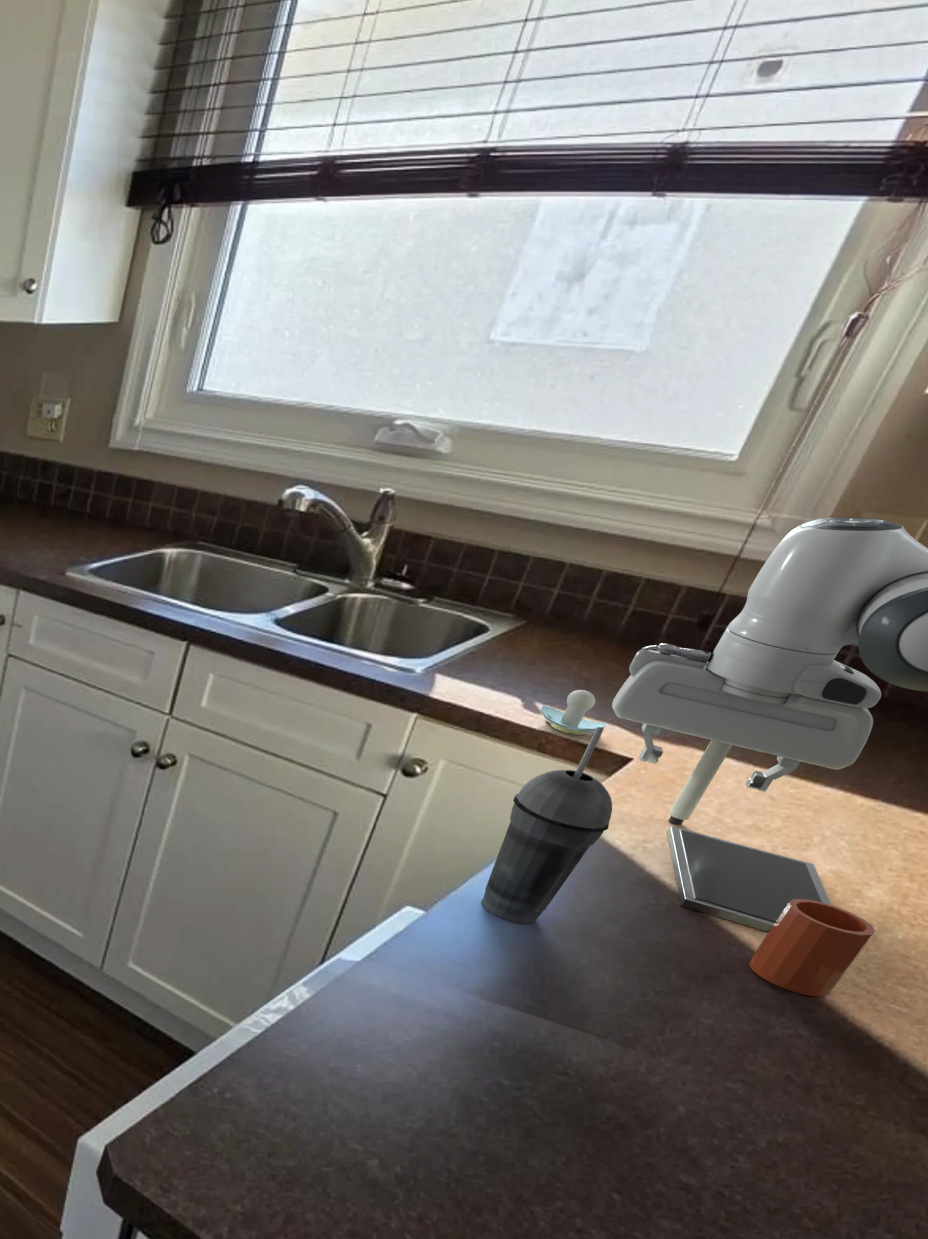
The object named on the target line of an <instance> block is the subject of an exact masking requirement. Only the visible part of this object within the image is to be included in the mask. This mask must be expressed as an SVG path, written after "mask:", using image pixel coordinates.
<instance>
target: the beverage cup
mask: <svg viewBox="0 0 928 1239" xmlns="http://www.w3.org/2000/svg"><path fill="white" fill-rule="evenodd" d="M604 729H605V727H604V728H602V727H597V728H596V730H595V732H594V734H592V736H591V738H590V741H589V743H588V745H587V747H586V749H585V751H584V753H583V755H582V757H581V759H580V761H579V762H578V765H577V767H576V769H575V770H574V769H573V770H572V769H557V770H550V771H547V772H544V773H542V774H539V775H537V776H535V777H533V778H532V779H530V780H528V781H527V782H526V783H525V784H523V786H522V787H521V789H520V790H519V792H518V793H516V794H515V795H514V797H513V805H512V808H511V813H510V816H509V821H510V822H509V824H508V826H507V830H506V832H505V835H504V838H503V841H502V843H501V845H500V849H499V852H498V854H497V856H496V859H495V862H494V865H493V867H492V870H491V873H490V875H489V878H488V881H487V884H486V887H485V890H484V894H483V897H482V899H481V905H482V907H483V908H485V910H487V911H488V912H490V914H492V915H494V916H496V917H498V918H501V919H503V920H506V921H509V922H512V923H515V924H516V923H517V924H522V925H530V924H534V923H536V922H537V920H538V919H539V917H540V916H542V913H543V912H544V911H546V909H547V908H548V906H549V905H550V904H551V902H552V901H553V899H554V898H555V897H556V895H557V893H558V892H559V891H560V889H561V888H562V887H563V885H564V884H565V882H566V881H567V880H568V878H569V876H570V875H571V874H572V872H573V871H574V870H575V868H576V867H577V865H578V864H579V862H580V861H581V860H582V858H583V857H584V855H585V854H586V853H587V851H588V850H589V848H590V847H592V846H593V845H595V843H596V842H597V841H598V840H599V839H600V837H602V836H603V833H604V832H605V831H607V830H609V827H610V826H609V825H610V821H611V818H612V812H613V801H612V797H611V795H610V793H609V791H608V790H607V789H606V787H605V786H604V785H603V783H601V782H600V781H599V780H598V779H597V778H595V777H593V776H592V775H589V773H588V774H587V773H585V772H584V771H585V769H586V766H587V765H588V762H589V760H590V759H591V756H592V755H593V752H594V750H595V748H596V747H597V744H598V742H599V740H600V738H601V736H602V734H603V731H604Z"/></svg>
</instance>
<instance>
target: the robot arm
mask: <svg viewBox="0 0 928 1239" xmlns="http://www.w3.org/2000/svg"><path fill="white" fill-rule="evenodd" d="M724 630H725V631H724V632H723V634H722V635H721V637H720V639H719V641H718V643H716V646H715V648H714V649H713V652H709V651H706V650H705V651H704V650H701V649H700V650H699V649H694V648H686V647H680V646H676V645H674V644H671V643H659V645H648V646H645V647H642V648H641V649H639V650H638V651H637V652H636V653H635V655H634V657H633V658H632V660H631V662H630V664H629V668H628V670H629V674H630V675H629V676H628V678H627V679H626V680H625V682H623V684H622V686H621V687H620V688H619V690H618V691H617V693H616V695H615V696H614V698H613V700H612V703H611V707H612V711H613V712H614V714H615V715H616V717H617V718H619V719H623V720H628V721H631V722H635V723H639V724H642V726H641V730H642V736H643V740H644V747H643V749H642V751H641V752H640V754H639V757H638V758H639V761H641V762H644V763H648V764H653V765H657V764H658V762H659V758H661V757H662V755H663V754H664V750H663V747H662V746H659V745H655V744H654V740H653V736H656V737H658V736H659V735H660V733H661V732H662V730H663V729H664V730H668V731H673V732H676V733H681V734H685V735H690V736H694V737H698V738H702V739H707V740H710V741H711V740H714V741H718V742H722V743H727V744H731V745H732V746H735V747H739V748H744V749H748V750H752V751H756V752H761V753H765V754H769V755H773V756H777V757H776V760H777V763H778V764H775V765H774V766H772V767H770V768H768V769H766V770H764V771H760V770H755V769H753V770H752V772H751V774H750V777H749V778H747V780H746V782H745V786H746V789H751V790H755V791H758V792H761V793H766V792H767V790H768V789H769V787H770V785H771V784H772V782H773V781H774V780H775V781H776V780H778V779H779V778H782V777H784V776H786V775H788V774H790V773H792V772H795V771H796V770H797V769H798V767H799V766H800V764H801V763H806V764H810V765H815V766H819V767H823V768H826V769H832V770H837V771H838V770H841V769H844V768H846V767H850V766H852V765H853V764H854V763H855V762H856V761H857V759H858V758H859V756H860V755H861V753H862V751H863V749H864V747H865V746H866V743H867V741H868V740H869V736H870V735H871V732H872V729H873V725H874V718H873V715H872V713H871V712H870V710H869V709H872V708H873V707H874V706H876V705H877V704H878V703H879V701H880V700H881V698H882V691H881V689H880V686H878V685H877V683H876V682H875V681H874V680H873V679H871V677H869V676H868V675H867V674H866V673H863V672H861V671H859V670H857V669H854V668H853V667H850V666H848V665H846V664H844V663H842V662H839V661H837V660H835V659H836V657H837V655H838V654H839V652H840V650H841V649H842V648H843V647H844V646H845V647H846V646H857V647H858V653H859V656H860V659H861V661H862V663H863V664H864V666H865V667H866V669H868V670H869V671H870V672H871V673H872V675H874V676H875V677H877V678H879V679H880V680H882V681H884V682H886V683H889V684H891V685H893V686H897V687H900V688H902V689H907V690H910V691H911V690H913V691H917V692H928V547H927V546H925V545H924V544H922V543H921V542H919V541H918V540H916V538H914V537H913V536H912V535H910V533H908V531H907V530H906V529H905V527H904V526H903V525H901V524H899V523H897V522H894V521H889V520H884V519H874V518H868V517H867V518H866V517H828V518H818V519H814V520H810V521H807V522H805V523H803V524H800V525H798V526H796V527H795V528H793V529H792V530H790V532H788V533H787V534H786V535H785V536H784V537H783V538H781V540H780V541H779V543H778V544H777V546H776V547H775V548H774V549H773V551H771V554H770V555H769V556H768V558H767V559H766V561H765V562H764V564H763V565H762V566H761V569H760V570H759V572H758V573H757V575H756V576H755V578H754V579H753V581H752V583H751V585H750V587H749V589H748V592H747V598H746V602H745V604H744V606H743V608H742V610H741V611H740V613H739V614H738V615H737V616H736V617H734V619H732V621H730V622H729V624H728V625H727V626H726V628H725V629H724ZM652 735H653V736H652Z"/></svg>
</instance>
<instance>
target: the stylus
mask: <svg viewBox="0 0 928 1239" xmlns="http://www.w3.org/2000/svg"><path fill="white" fill-rule="evenodd" d="M732 747H733V745H731V744H727V743H722V742H718V741H714V740H710V741H709V743H708V745H707V747H706V748H705V750H704V752H703V753H702V755H701V756H700V759H699V760H698V762H697V764H696V765H695V767H694V769H693V771H692V772H691V774H690V775H689V778H687V781H686V783H685V784H684V786H683V787H682V789H681V791H680V792H679V795H678V796H677V798H676V800H675V801H674V803H673V805H672V807H671V809H670V810H669V811H668V814H669V816H670V817H669V819H668V822H670V823H671V824H675V825H679V826H681V825H683V823H684V821H688V820H689V819H690V817H691V816H692V814H693V812H694V811H695V809H696V808H697V806H698V804H699V803H700V801H701V799H702V798H703V796H704V794H705V793H706V791H707V789H708V787H709V786H710V784H711V782H712V780H714V777H715V776H716V774H717V773H718V771H719V769H720V767H721V766H722V764H723V762H724V761H725V759H726V757H727V755H728V754H729V753H730V751H731V749H732Z"/></svg>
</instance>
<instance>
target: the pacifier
mask: <svg viewBox="0 0 928 1239" xmlns="http://www.w3.org/2000/svg"><path fill="white" fill-rule="evenodd" d="M566 704H567V707H566V708H565V710H564V712H563V711H561V710H560V709H556V708H554V707H551V706H548V705H542V706H541V708H540V713H541V715H542V716H543V719H544V720H545V721H546V722H548V723H550V726H551V727H552V728H553V729H555V730H557V731H560V732H563V733H567V734H570V735H577V736H581V735H584V734H585V735H586V734H587V735H593V734H594V732H595V730H596V728H597V727H602V728H604V729H605V728H606V727H607V723H604V722H601V721H594V720H588V719H584V718H585V715H586V714H587V711H589V710H591V709H592V708H594V706H595V704H596V698H595V696H594V694H593V693H592V692H590V691H588V690H584V689H576V690H574V691H572V692H570V693H569V694H568V696H567V698H566Z"/></svg>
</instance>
